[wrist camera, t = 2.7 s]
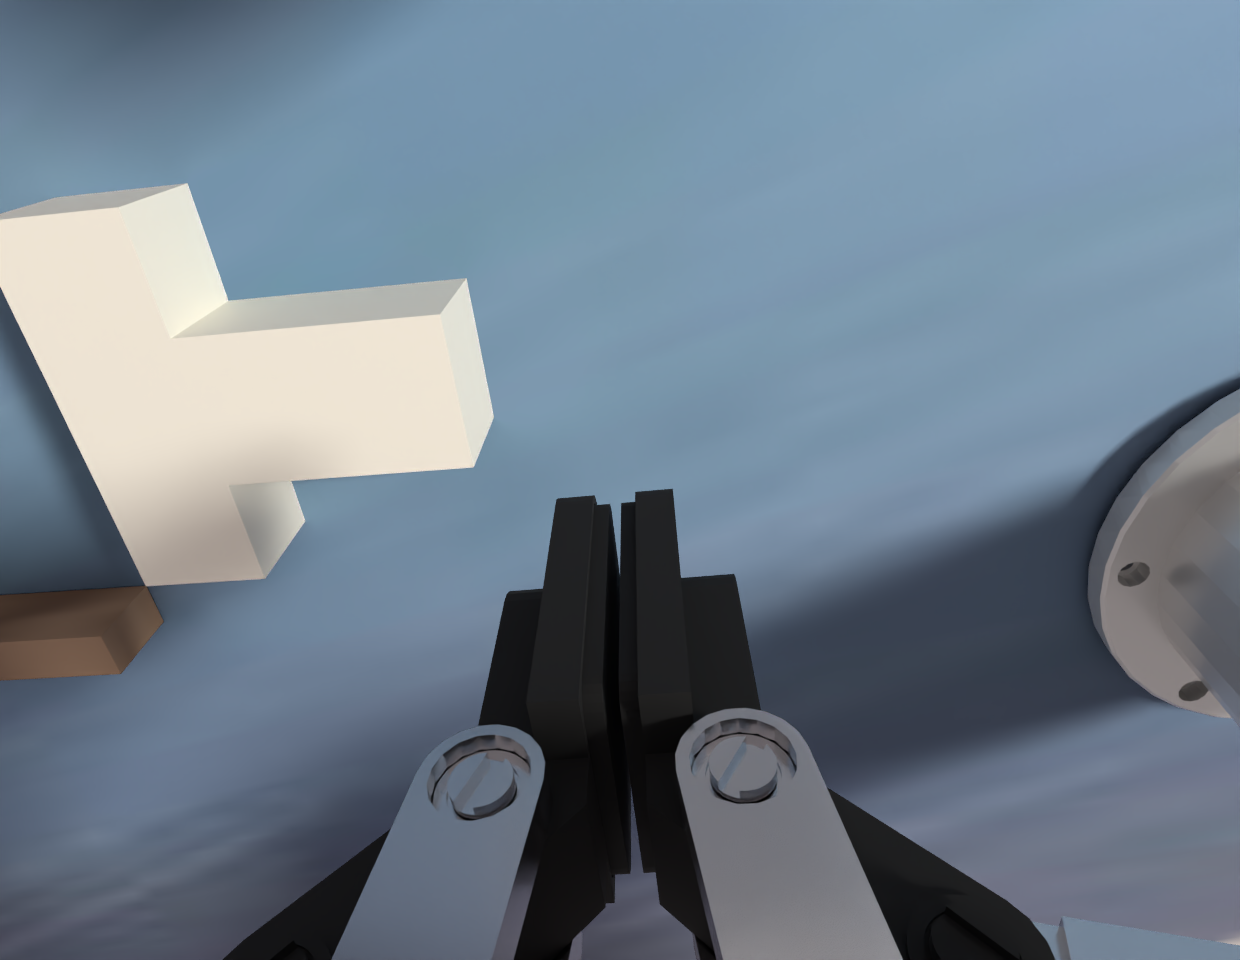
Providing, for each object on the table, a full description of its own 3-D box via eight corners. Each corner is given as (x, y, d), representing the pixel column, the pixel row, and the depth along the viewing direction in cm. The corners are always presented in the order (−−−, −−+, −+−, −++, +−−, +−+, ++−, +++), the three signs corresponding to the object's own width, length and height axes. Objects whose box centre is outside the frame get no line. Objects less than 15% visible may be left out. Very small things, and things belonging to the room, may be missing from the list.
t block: (442, 155, 20) (409, 176, 17) (511, 506, 24) (494, 564, 22) (56, 197, 20) (-32, 223, 18) (198, 528, 25) (145, 586, 23)
